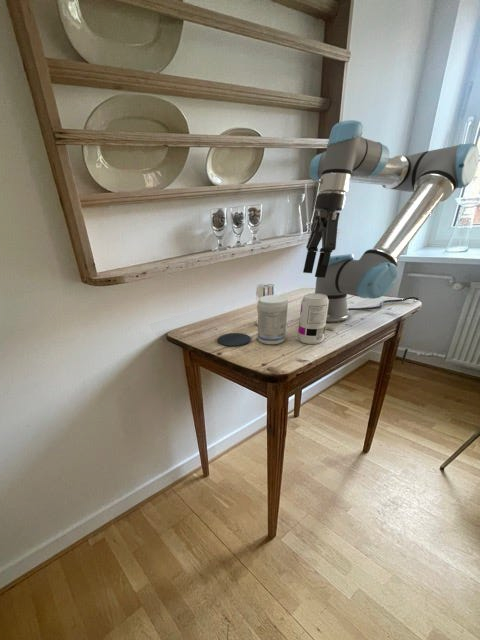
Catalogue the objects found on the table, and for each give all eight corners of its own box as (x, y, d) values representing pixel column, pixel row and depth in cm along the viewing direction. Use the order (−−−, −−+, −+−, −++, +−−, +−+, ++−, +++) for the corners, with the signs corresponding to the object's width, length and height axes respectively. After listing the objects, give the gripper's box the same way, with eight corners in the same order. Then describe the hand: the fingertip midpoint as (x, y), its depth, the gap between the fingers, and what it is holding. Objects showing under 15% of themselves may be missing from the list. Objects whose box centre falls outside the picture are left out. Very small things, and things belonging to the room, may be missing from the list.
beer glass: (259, 320, 125) (260, 283, 118) (275, 321, 122) (277, 284, 114) (252, 325, 121) (253, 287, 113) (268, 327, 117) (270, 288, 109)
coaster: (239, 331, 115) (240, 330, 115) (257, 341, 106) (257, 340, 105) (212, 338, 112) (212, 337, 112) (227, 349, 102) (227, 348, 102)
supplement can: (293, 341, 103) (297, 297, 96) (305, 334, 108) (309, 292, 100) (316, 346, 98) (322, 300, 90) (327, 338, 102) (333, 294, 95)
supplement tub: (259, 334, 111) (260, 294, 104) (285, 335, 108) (288, 294, 101) (255, 344, 103) (256, 302, 96) (284, 346, 100) (287, 302, 93)
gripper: (306, 199, 95) (292, 270, 104) (333, 185, 72) (312, 278, 81) (330, 200, 94) (314, 272, 103) (364, 187, 72) (340, 280, 81)
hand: (313, 275), depth 92 cm, fingers open, 13 cm apart
